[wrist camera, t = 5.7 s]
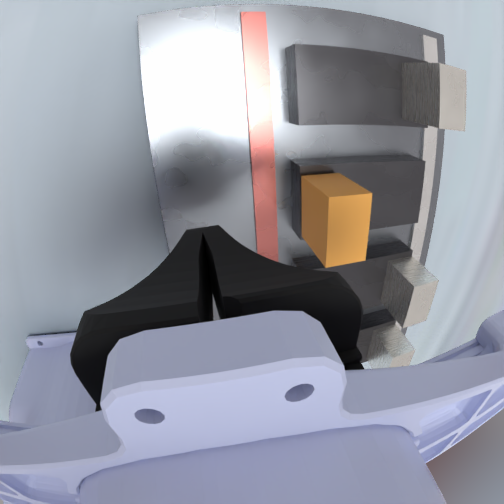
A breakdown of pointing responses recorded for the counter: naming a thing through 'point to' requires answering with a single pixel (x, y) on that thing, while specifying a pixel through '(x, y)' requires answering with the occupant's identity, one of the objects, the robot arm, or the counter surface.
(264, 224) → the panel
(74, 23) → the counter surface
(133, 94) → the counter surface
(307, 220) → the orange block
